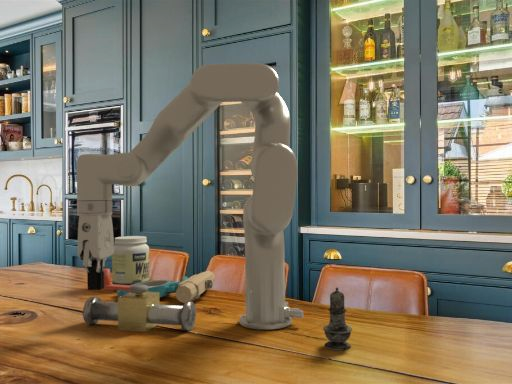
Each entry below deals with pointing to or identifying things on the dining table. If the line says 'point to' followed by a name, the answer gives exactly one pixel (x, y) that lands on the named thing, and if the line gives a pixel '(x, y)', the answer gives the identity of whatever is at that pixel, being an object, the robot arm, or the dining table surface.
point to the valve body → (139, 312)
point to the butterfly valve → (179, 286)
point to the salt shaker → (337, 324)
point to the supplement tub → (130, 260)
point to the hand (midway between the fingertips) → (95, 289)
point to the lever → (122, 287)
